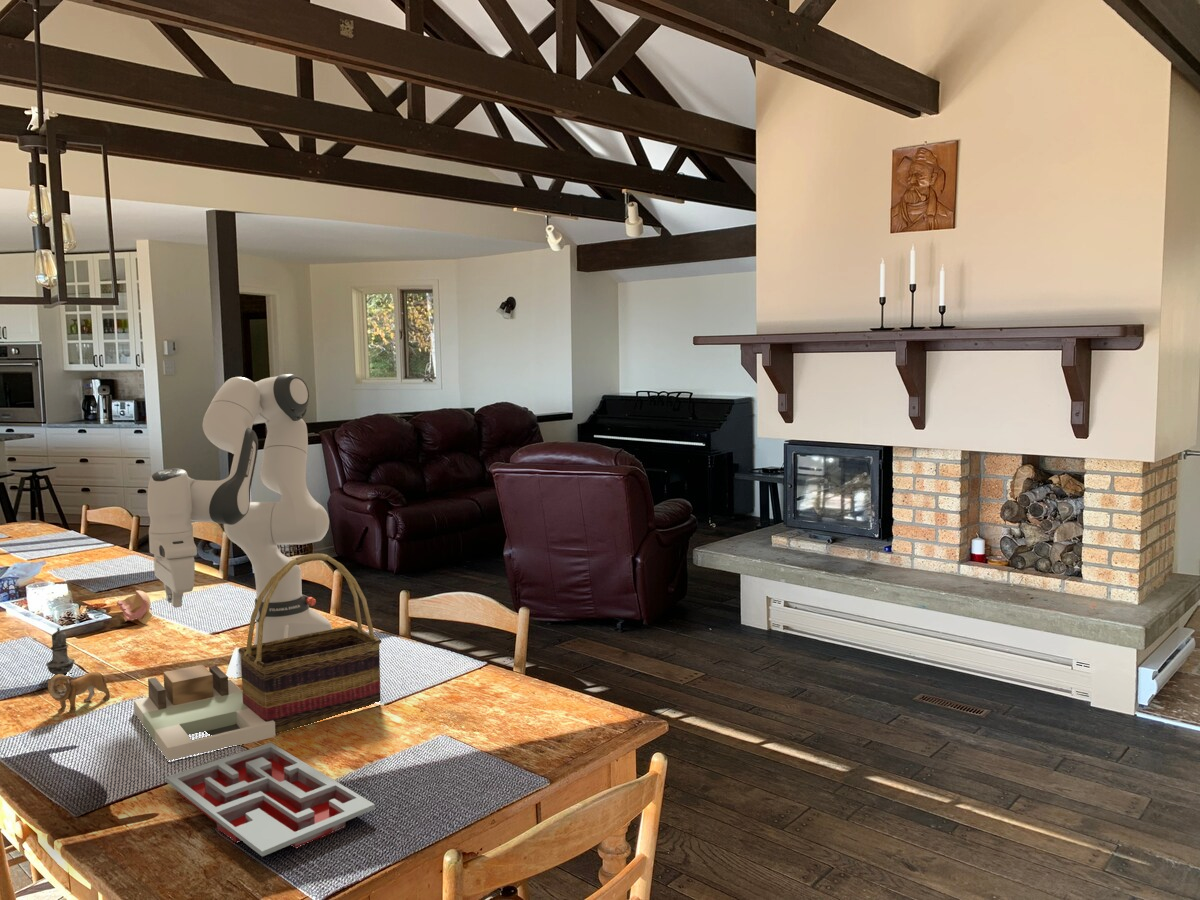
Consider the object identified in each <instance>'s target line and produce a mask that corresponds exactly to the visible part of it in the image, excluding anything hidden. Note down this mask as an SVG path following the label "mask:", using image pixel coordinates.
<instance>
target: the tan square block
mask: <svg viewBox="0 0 1200 900" xmlns="http://www.w3.org/2000/svg"><path fill="white" fill-rule="evenodd" d="M162 673H163V687H164V688H165V689H166V697H167V698H168V699H169V701H170V702H171V703H172V704H173V705H179V704H184V703H188V702H193V701H197V700H202V699H207V698H211V697H213V674H212V673H210V672H209V669H208V668H207V667H206V666H205V665H204V664H197V665H193V666H188V667H183V668H177V669H173V670H167V671H163V672H162Z"/></svg>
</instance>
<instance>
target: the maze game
mask: <svg viewBox="0 0 1200 900" xmlns="http://www.w3.org/2000/svg"><path fill="white" fill-rule="evenodd" d="M164 780H165V783H167V785H170V787H172V788H173V789H174V790H176V791H177V794H178V795H179V794H180V795H179V796H181V798H183V799H184V798H185V799H184V800H186V801H187V800H188V801H187V802H189V803H190V804H191V805H192V804H193V805H194V806H193V805H192V806H193V807H195V808H196V809H198V810H199V811H200V812H201V813H203V814H204V815H205V816H206V817H208V819H210V820H212V821H213V822H214V823H216V830H218V831H219V830H220V831H222V832H223V833H225V834H226V835H228V836H229V837H231V838H232V839H233V840H234V841H235V842H237V841H240V840H241V841H243V843H244V844H246V845H247V846H248V847H249V848H250V849H252V850H253V851H254V852H255V853H257V854H258V855H259V856H261V857H262V858H263V857H265V856H267V855H269V854H272V853H274V852H277V851H279V850H282V849H283V848H286V847H289V846H290V845H293V846H294V847H298V846H300V845H302V844H306V843H307V842H310V841H312V840H315V839H318V838H320V837H322V836H324V835H327V834H329V833H331V832H332V831H335V830H336V829H339V828H341V827H343V826H344V825H345V826H346V822H348V821H350V820H352V819H355V818H356V817H359V816H362V815H364V814H366V813H369V812H371V811H374V810H375V809H376V804H375V803H374V802H372V801H370V800H369V799H366V798H365V797H363V796H361V795H360V794H358V793H356V792H355V791H353V790H352V789H350V788H348V787H346V786H344V785H343V784H341V783H339V781H336V780H334V779H333V778H332V777H330V776H328V775H326V774H324V773H323V772H321V771H320V770H318V769H316V768H315V767H314V766H311V765H309V764H308V763H306V762H304V761H302V760H301V759H299V758H298V757H296V756H294V755H293V754H291V753H289V752H288V751H286V750H284V749H282V748H281V747H279V746H277V745H276V744H274V743H273V742H268V743H265V744H262V745H259V746H256V747H252V748H249V749H247V750H244V751H240V752H238V753H234V754H231V755H228V756H225V757H222V758H220V759H217V760H212V761H210V762H207V763H204V764H201V765H198V766H196V767H192V768H189V769H186V770H183V771H180V772H177V773H174V774H171V775H167V776H165V779H164ZM342 802H343V803H342ZM220 831H219V832H220ZM223 833H222V834H223ZM327 836H328V835H327ZM320 839H321V838H320ZM318 840H319V839H318ZM306 845H307V844H306Z"/></svg>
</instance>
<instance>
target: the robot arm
mask: <svg viewBox="0 0 1200 900" xmlns="http://www.w3.org/2000/svg"><path fill="white" fill-rule="evenodd" d="M309 398H310V391H309V387H308V386H307V383H306V382H305V381H304V380H303V378H302V377H301V376H299V375H297V374H292V373H288V374H287V373H285V374H284V373H283V374H279V375H277V376H270V377H266V378H263V379H260V380H258V381H253V380H251V379H249V378H247V377H242V376H235V377H231V378H229V379H227V380H226V381H225V382H224V383H223V384H222V385H221V386H220V388H219V389H218V390H217V392H216V393H215V395H214V397H213V398H212V400H211V402H210V404H209V406H208V408H207V410H206V411H205V413H204V415H203V419H202V431H203V433H204V435H205V437H206V438H207V440H208V441H209V443H210V442H211V444H213V445H214V446H215V447H216V448H218V449H220V450H222V451H225V452H228V453H231V454H232V455H233V457H232V462H231V467H230V472H229V476H228V477H225V478H224V479H220V480H206V479H205V480H204V479H195V478H191V477H190V476H189V474H188V472H187V471H186V470H185V469H183V468H167V469H162V470H157V471H156V472H154V473H153V474H151V475H150V478H149V481H148V488H147V512H148V513H147V514H148V516H149V517H148V518H149V519H150V520H149V521H150V522H149V528H148V544H149V553H150V554H152V555H153V570H154V571H153V572H154V575H155V578H157V579H159V580H160V582H162V583H163V587H164V591H165V596H166V598H165V599H166V601H167V603H169V604H171V605H172V607H173V608H175V609H176V608H177V609H178V608H181V607H182V606H183V596H184V594H185V593H191V592H192V591H193V589H194V587H195V571H196V570H195V568H196V567H195V566H196V565H195V564H196V563H195V557H196V556H197V555H198V549H197V548H198V547H197V545H196V543H195V541H194V540H195V539H194V527H193V524H192V522H193V523H194V522H196V523H214V524H215V523H216V524H222V525H223V528H224V529H223V530H224V533H225V535H226V536H227V538H228V540H230V541H231V542H232V543H233V544H236V545H237V547H239V548H241V550H242V551H243V553H244V554H246V556H247V557H248V559H249V561H250V563H251V565H252V568H253V572H254V573H253V574H254V579H255V580H254V581H255V589H256V591H255V592H256V598H255V599H254V606H255V605H256V603H257V600H258V597H259V595H260V594H261V592H262V591H263V589H264V588H265V586H266V585H267V584H268V582H269V581H270V579H271V578H272V577H273V576H274V575H275V574H276V573H277V572H278V571H279V570H281V569H282V568H283V567H284V566H285V565H286V564H287V563H288V562H290V561H292V560H294V559H293V558H291V557H289V556H286V555H285V554H283V553H282V552H281V551H280V549H279V547H278V546H280V545H287V546H288V545H307V544H311V543H316V542H320V541H322V540H323V539H324V537H326V534H327V532H328V531H329V526H330V518H329V514H328V512H327V510H326V509H325V507H324V506H323V505H322V504H320V503H319V502H318V501H316V499H315V498H314V497H313V496H312V495H311V494H310V491H309V489H308V485H307V480H306V479H307V478H306V477H307V461H308V460H307V459H308V450H309V441H308V440H309V439H308V438H309V437H308V436H309V435H308V426H307V424H306V422H305V421H304V419H303V418H304V417H305V415H306V413H307V409H308V405H309ZM258 424H265V426H266V431H267V433H266V438H265V441H264V446H263V450H262V451H263V453H262V460H261V468H260V475H259V476H260V480H261V482H262V484H263V485H264V487H267V489H269V490H270V491H273V492H274V493H276V494H279V495H281V496H280V499H279V501H278V500H277V501H251V488H252V482H253V477H254V473H255V466H256V463H257V457H258V450H259V439H258V436H257V433H256V432H255V430H254V429H253V426H257V425H258ZM272 585H273V584H272ZM302 586H303V585H302V569H301V567H300V565H294V566H293V567H292V568H291V569H290V570H289V572H288V573H287V574H286V575H285V576H284V577H283V578H282V579H281V580H280V581H279V583H278V585H277V587H276V589H275V591H274V593H273V595H272V597H271V599H270V601H269V604H268V608H267V612H266V615H265V619H264V624H263V637H262V643H266V642H271V641H276V640H281V639H285V638H290V637H295V636H300V635H305V634H309V633H314V632H319V631H324V630H329V629H333V626H332V623H331V621H330V620H329V619H328V618H327V617H325V616H323V615H322V614H321V613H319V612H317V610H314V609H312V608H311V607H312V606H315V604H316V602H317V601H316V599H315V598H314V597H312V596H308V595H305V594H303V593H302V590H303V589H302ZM271 587H272V586H271ZM271 587H270V589H271ZM270 589H269V590H270ZM269 590H268V592H269ZM268 592H267V593H266V595H265V596H264V598H263V600H262V603H261V605H260V608H259V611H258V613H257V616H256V619H255V624H256V625H255V633H254V635H255V636H254V639H253V645H256V644H257V639H258V625H259V619H260V616H261V612H262V608H263V604H264V601H265V598H266V596H267V594H268ZM310 606H311V607H310Z"/></svg>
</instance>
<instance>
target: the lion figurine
mask: <svg viewBox="0 0 1200 900" xmlns="http://www.w3.org/2000/svg"><path fill="white" fill-rule="evenodd" d="M47 689H48V692H49V695H50V697H51V698H52V699H54V700H55V701H58V702H59V704H60V708H59V709H58V713H62V712H65V710H66V707H67V704H66V703H67V700H68V701H69V710H68V713H69V714H72V713H76V711H77V708H76V699H77V696H80V695H83V694H84V693H86V691H88V697H85V698H84V700H83V702H85V703H87V702H91V700H92V698H93V696H94V695H95V694H96V693H95V689H96V690H97V691H98V692H101V693H104V694H105V696H104V697H103V698H102V699H103V700H104V701H108V700H109V699H110V698H111V695H110V690H109V688H108V686H107V681H106V679H105V676H104V675H103V674H102V673H100V672H98V671H91V672H87V673H85V674H84V675H82V676H79V677H77V678H75V677H70V676H65V675H63V674H58V675H54V676H53V677H52V678H51V679H50V680H48V681H47Z"/></svg>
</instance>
